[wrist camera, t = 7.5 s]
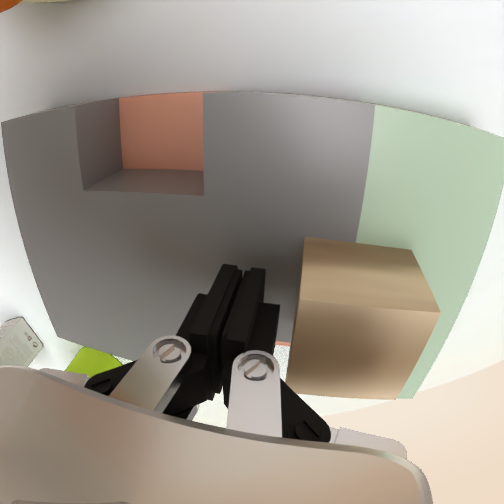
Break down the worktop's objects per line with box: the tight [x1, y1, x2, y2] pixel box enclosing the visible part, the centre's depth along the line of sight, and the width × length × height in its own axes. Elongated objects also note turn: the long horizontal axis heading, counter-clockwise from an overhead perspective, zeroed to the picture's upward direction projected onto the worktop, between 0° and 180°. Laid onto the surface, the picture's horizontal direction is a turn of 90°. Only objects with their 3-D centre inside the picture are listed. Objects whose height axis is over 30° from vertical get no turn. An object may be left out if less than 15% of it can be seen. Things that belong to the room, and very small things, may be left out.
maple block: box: [285, 237, 441, 400], centre depth 11 cm, size 4×4×4 cm
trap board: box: [1, 92, 504, 398], centre depth 16 cm, size 15×24×4 cm, turn 89°
